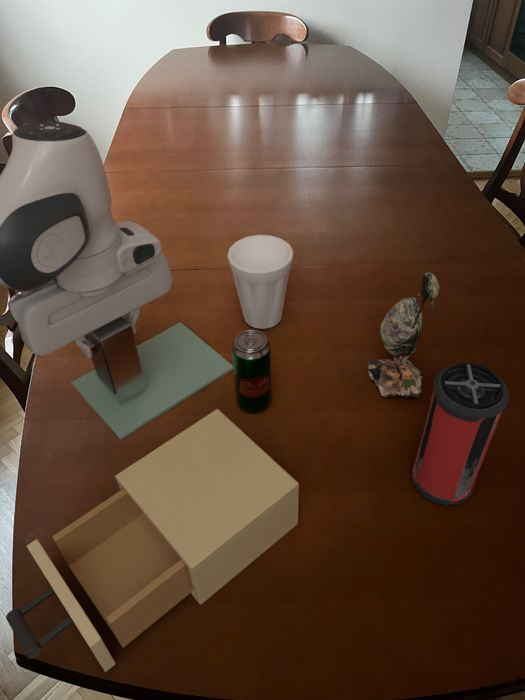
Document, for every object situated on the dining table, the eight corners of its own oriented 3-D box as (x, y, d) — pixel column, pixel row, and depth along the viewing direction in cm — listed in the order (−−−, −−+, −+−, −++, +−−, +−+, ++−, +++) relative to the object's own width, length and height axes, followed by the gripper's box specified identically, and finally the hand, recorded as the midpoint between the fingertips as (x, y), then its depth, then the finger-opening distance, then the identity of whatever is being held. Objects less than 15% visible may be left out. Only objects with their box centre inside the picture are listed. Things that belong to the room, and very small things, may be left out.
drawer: (60, 709, 56) (40, 686, 52) (2, 604, 64) (-20, 576, 59) (213, 583, 65) (207, 554, 60) (146, 504, 72) (136, 472, 67)
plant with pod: (421, 350, 91) (445, 241, 78) (423, 405, 83) (450, 294, 70) (368, 345, 93) (382, 236, 79) (365, 399, 85) (380, 288, 71)
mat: (120, 440, 80) (119, 437, 80) (71, 384, 88) (70, 382, 88) (234, 369, 90) (234, 366, 89) (180, 324, 97) (180, 321, 97)
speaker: (408, 453, 78) (431, 355, 65) (468, 457, 77) (503, 359, 64) (413, 504, 72) (439, 408, 60) (477, 509, 71) (518, 413, 59)
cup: (296, 336, 95) (297, 269, 86) (233, 340, 94) (228, 274, 85) (289, 297, 102) (289, 232, 93) (231, 300, 101) (226, 236, 92)
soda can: (240, 418, 83) (234, 357, 74) (233, 391, 86) (228, 331, 78) (275, 411, 83) (274, 350, 75) (267, 385, 87) (265, 325, 79)
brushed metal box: (119, 403, 82) (100, 341, 74) (97, 380, 86) (77, 318, 77) (146, 387, 85) (131, 324, 76) (124, 365, 88) (107, 303, 80)
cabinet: (200, 605, 64) (191, 568, 58) (129, 515, 72) (114, 475, 66) (298, 523, 71) (299, 483, 65) (222, 450, 79) (217, 408, 73)
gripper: (15, 309, 63) (50, 395, 73) (171, 236, 73) (184, 321, 82) (-9, 283, 67) (28, 368, 77) (143, 217, 76) (159, 300, 86)
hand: (110, 343), depth 80 cm, fingers closed on brushed metal box, 4 cm apart
